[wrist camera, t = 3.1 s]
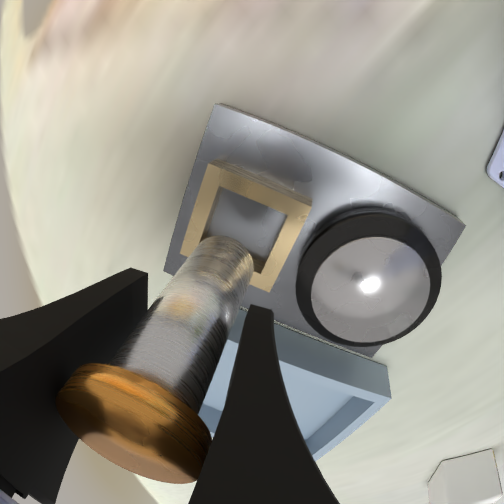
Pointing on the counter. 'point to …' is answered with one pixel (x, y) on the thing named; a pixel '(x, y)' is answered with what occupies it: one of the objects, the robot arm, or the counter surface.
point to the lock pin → (163, 371)
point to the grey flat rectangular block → (315, 232)
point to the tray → (310, 387)
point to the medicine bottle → (466, 480)
